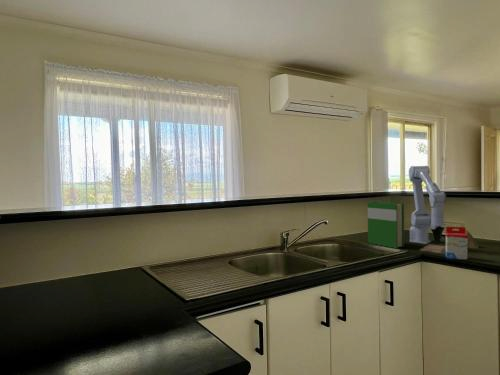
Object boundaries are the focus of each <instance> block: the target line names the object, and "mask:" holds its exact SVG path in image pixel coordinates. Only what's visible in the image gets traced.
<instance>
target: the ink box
mask: <svg viewBox="0 0 500 375" xmlns="http://www.w3.org/2000/svg"><path fill="white" fill-rule="evenodd" d="M465 230H467V229H466V227H465V226H446V229H445V246H446V254H445V257H446V259H451V260H468V248H467V243H468V235H467V234H465Z"/></svg>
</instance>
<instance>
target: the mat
mask: <svg viewBox="0 0 500 375" xmlns="http://www.w3.org/2000/svg"><path fill="white" fill-rule="evenodd" d="M424 247H425V246H423V247H422V248H420V249H419V250H418V251H422V252H430V253H439V254H446V250H444V251H442V252H435V251H427V250H424Z"/></svg>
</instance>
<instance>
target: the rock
mask: <svg viewBox="0 0 500 375" xmlns="http://www.w3.org/2000/svg"><path fill="white" fill-rule="evenodd" d="M465 234H467V235H468V243H467V249H468V248H470V249H479V245H478V242H477V240H476V238H474V236H473V235H472V234H471V233H470V232H469V231H468V230H467V229H465Z"/></svg>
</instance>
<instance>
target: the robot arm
mask: <svg viewBox="0 0 500 375" xmlns="http://www.w3.org/2000/svg"><path fill="white" fill-rule="evenodd" d="M430 173H431V169H430V167H429V166H428V165H414V166H413V165H411V166H410V167H409V168H408V177H409V178H408V179H409V181H410V182H411V183H412V190H413V199H414V205H415V210H414V211H413V212H412V213H411V216H410V222H411V226H410V227H409V242H410V243H418V244H427V245H428V243H431V242H432V240H429V228H430V230H431V232H432V236H433V238H434V242H440V241H441V238H442V235H443V232H444V230H445V227H444V226H446V227H447V224H446V223H445V222H444V221H445V220H444V217H445V216H444V215H445V211H444V210H445V206H444V204H445V203H446V201H447V195H446V193H445V192H444V191H442V190H440V188H439V186H438V185H437V183H436V182H434V181H433V179H432V178H431V175H430ZM423 183H424V184H425V191H426V192H427V193H428V195H429V197H428V200H429V204H430V207H431V208H430V209H431V210H430V211H431V212H430V211H428V210H427V209H426V204H425V198H424V197H425V196H424V191H423V190H424V189H423Z"/></svg>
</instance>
